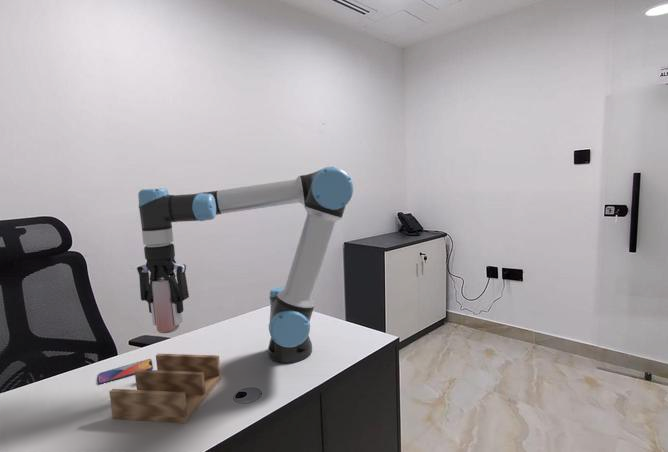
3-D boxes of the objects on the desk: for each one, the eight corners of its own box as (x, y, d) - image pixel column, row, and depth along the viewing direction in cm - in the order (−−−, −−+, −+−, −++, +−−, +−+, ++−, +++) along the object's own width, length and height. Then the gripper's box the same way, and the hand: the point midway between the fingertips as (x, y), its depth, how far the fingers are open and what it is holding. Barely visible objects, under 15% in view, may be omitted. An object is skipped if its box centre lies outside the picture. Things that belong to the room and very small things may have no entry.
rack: (221, 378, 106) (219, 355, 105) (185, 423, 86) (182, 395, 85) (160, 376, 108) (158, 353, 107) (112, 418, 89) (109, 391, 88)
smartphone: (99, 376, 111) (98, 373, 111) (151, 361, 119) (151, 358, 119) (97, 387, 105) (97, 384, 105) (153, 370, 112) (153, 367, 112)
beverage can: (156, 328, 101) (151, 278, 99) (179, 323, 104) (173, 275, 102) (157, 336, 96) (151, 283, 94) (180, 330, 99) (175, 279, 97)
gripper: (197, 241, 99) (205, 318, 102) (137, 242, 102) (146, 317, 105) (182, 246, 92) (191, 329, 95) (118, 247, 94) (128, 328, 97)
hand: (167, 323), depth 100 cm, fingers closed on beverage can, 6 cm apart
